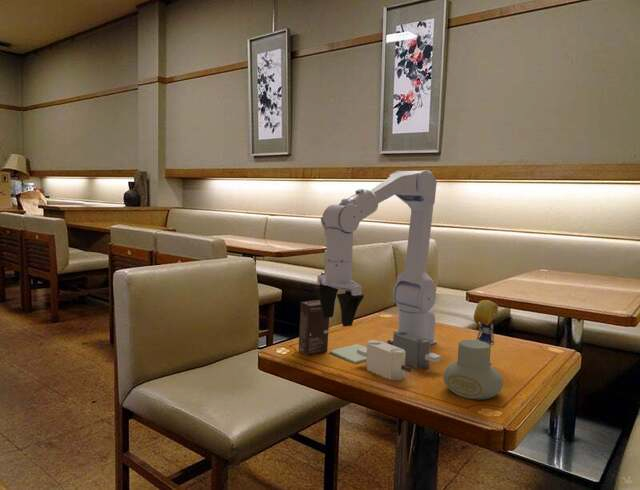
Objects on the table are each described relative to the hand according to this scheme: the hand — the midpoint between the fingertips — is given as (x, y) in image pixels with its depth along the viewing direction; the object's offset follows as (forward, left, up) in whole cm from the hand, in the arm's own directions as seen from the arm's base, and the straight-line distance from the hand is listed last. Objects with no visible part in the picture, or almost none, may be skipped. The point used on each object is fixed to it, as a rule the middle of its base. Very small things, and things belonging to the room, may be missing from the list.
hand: (337, 321), depth 106 cm
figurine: (-27, +19, -10) cm, 35 cm away
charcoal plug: (-15, +9, -10) cm, 20 cm away
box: (-1, -10, -10) cm, 14 cm away
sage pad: (-8, -2, -10) cm, 13 cm away
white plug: (-5, +10, -10) cm, 15 cm away
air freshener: (-11, +27, -10) cm, 31 cm away
